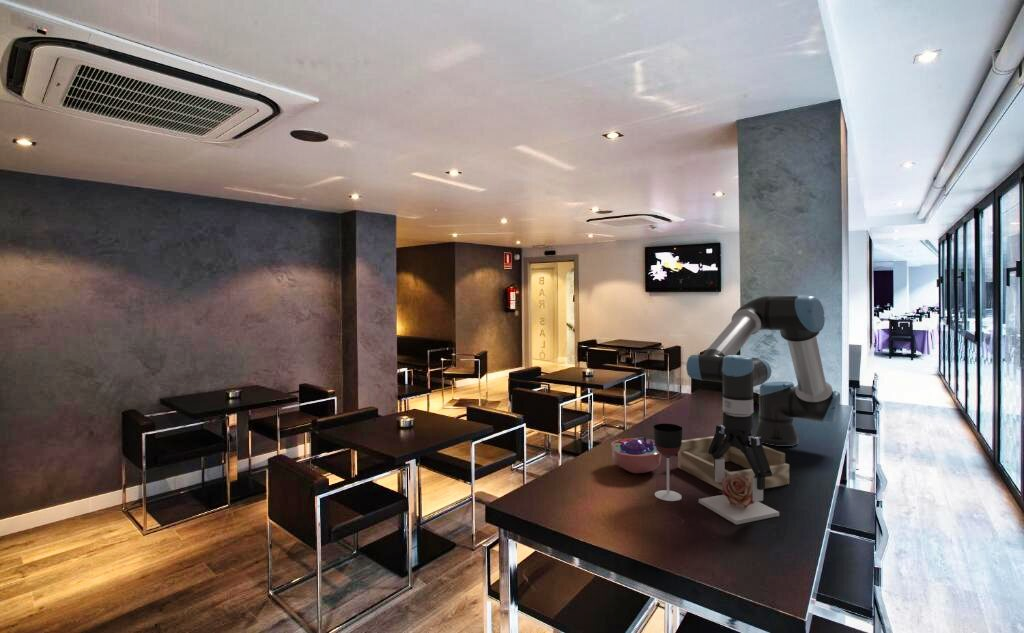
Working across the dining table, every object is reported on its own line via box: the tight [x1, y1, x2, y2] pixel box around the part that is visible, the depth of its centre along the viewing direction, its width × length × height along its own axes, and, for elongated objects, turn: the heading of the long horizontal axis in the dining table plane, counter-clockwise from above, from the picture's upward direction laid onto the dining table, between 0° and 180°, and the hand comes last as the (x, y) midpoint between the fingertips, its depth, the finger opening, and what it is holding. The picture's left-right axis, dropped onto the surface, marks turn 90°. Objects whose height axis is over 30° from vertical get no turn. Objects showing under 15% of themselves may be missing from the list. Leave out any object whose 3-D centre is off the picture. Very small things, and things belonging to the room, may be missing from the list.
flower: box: [718, 474, 754, 508], centre depth 132 cm, size 9×9×7 cm
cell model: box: [610, 437, 663, 474], centre depth 162 cm, size 17×20×11 cm
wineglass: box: [653, 423, 683, 502], centre depth 141 cm, size 8×9×20 cm
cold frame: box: [677, 435, 790, 492], centre depth 155 cm, size 22×24×9 cm
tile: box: [698, 494, 780, 525], centre depth 131 cm, size 14×14×1 cm
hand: (738, 490), depth 131 cm, fingers open, 13 cm apart
